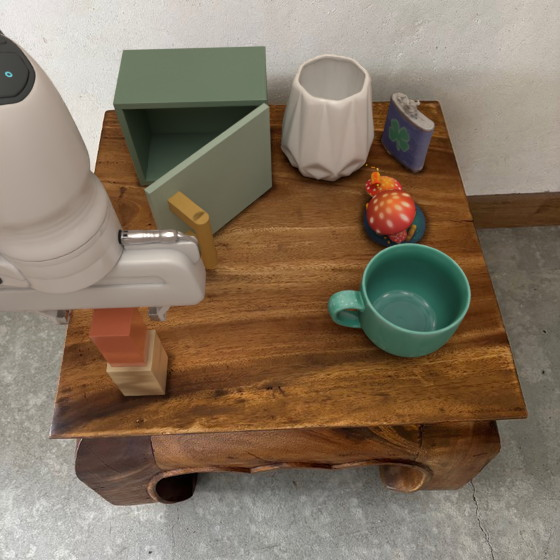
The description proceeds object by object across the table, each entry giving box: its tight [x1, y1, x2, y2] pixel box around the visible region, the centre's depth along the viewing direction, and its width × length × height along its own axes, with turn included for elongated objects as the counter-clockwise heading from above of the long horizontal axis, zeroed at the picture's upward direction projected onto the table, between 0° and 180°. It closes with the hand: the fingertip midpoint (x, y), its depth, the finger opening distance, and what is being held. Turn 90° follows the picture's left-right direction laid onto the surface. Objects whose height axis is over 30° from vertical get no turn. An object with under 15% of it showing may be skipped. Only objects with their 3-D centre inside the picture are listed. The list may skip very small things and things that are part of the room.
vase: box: [280, 53, 375, 182], centre depth 81 cm, size 14×14×15 cm
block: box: [88, 307, 150, 367], centre depth 58 cm, size 4×4×8 cm
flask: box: [380, 91, 436, 173], centre depth 83 cm, size 9×3×11 cm, turn 30°
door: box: [143, 103, 273, 270], centre depth 73 cm, size 7×20×16 cm, turn 136°
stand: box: [105, 329, 169, 397], centre depth 65 cm, size 5×5×8 cm
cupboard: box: [112, 45, 269, 186], centre depth 81 cm, size 11×20×16 cm, turn 92°
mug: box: [327, 243, 472, 358], centre depth 68 cm, size 17×13×10 cm
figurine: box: [362, 163, 427, 248], centre depth 77 cm, size 12×9×8 cm
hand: (112, 316), depth 55 cm, fingers open, 8 cm apart
